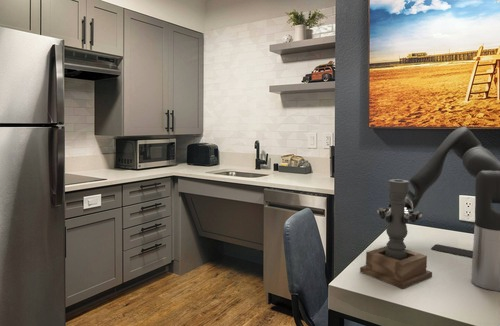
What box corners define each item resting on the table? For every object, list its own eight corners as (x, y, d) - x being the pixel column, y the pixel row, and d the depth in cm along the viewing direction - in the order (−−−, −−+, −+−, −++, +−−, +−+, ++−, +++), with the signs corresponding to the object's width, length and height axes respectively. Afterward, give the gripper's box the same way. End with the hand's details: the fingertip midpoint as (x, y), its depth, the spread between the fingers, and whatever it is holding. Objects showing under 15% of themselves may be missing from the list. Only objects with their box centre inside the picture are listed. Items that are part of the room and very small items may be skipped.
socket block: (431, 276, 114) (433, 256, 113) (402, 289, 105) (403, 266, 105) (389, 261, 126) (389, 243, 125) (360, 271, 118) (360, 251, 117)
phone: (435, 243, 144) (480, 252, 134) (435, 245, 144) (480, 254, 134) (430, 248, 138) (476, 257, 128) (430, 250, 138) (476, 260, 128)
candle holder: (402, 256, 118) (406, 179, 115) (409, 264, 112) (412, 182, 109) (382, 256, 119) (385, 179, 116) (387, 263, 113) (391, 182, 110)
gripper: (379, 195, 129) (372, 205, 114) (424, 198, 123) (423, 210, 108) (378, 216, 130) (371, 229, 115) (423, 220, 124) (422, 235, 109)
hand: (396, 220), depth 112 cm, fingers closed on candle holder, 4 cm apart
